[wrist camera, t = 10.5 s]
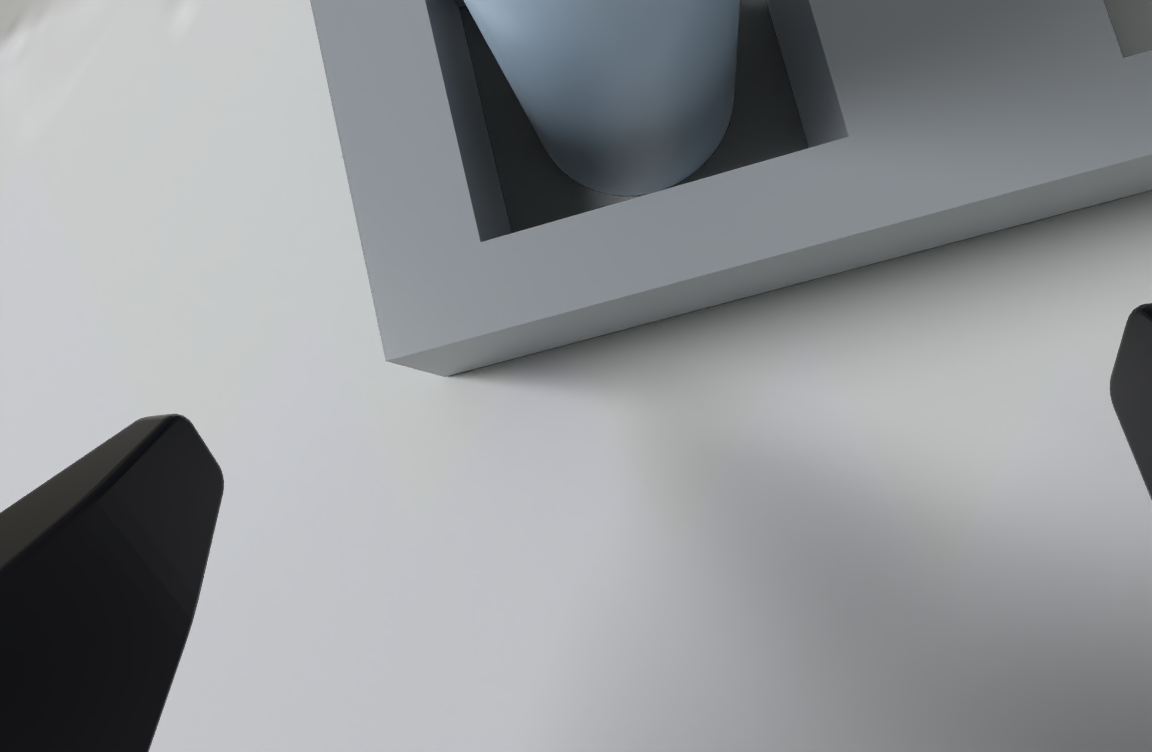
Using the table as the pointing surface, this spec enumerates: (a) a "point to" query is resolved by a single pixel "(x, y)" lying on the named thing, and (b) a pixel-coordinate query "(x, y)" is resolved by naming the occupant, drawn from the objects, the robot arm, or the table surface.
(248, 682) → the table surface
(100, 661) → the robot arm
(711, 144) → the plug
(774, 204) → the panel
